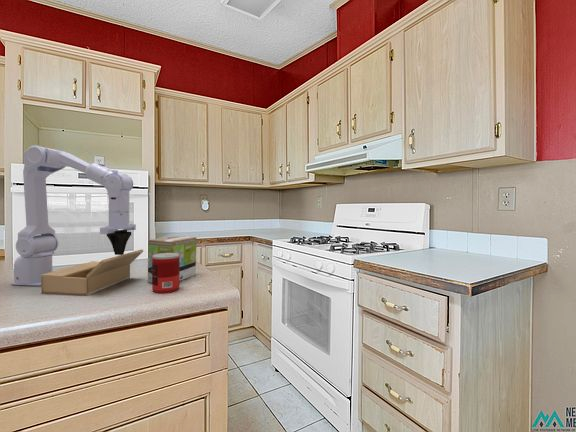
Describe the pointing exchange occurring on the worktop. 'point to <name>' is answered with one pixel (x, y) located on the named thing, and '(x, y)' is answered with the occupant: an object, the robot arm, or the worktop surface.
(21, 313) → the worktop surface
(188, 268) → the tea box
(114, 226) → the robot arm
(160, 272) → the canned food
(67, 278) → the carton
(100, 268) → the flap
